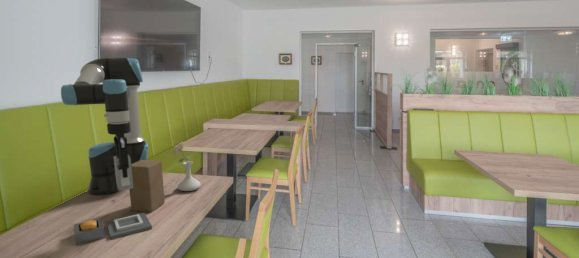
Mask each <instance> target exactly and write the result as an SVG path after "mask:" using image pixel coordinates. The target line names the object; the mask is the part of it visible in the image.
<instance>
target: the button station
mask: <svg viewBox="0 0 579 258" xmlns="http://www.w3.org/2000/svg"><path fill="white" fill-rule="evenodd" d="M102 218H103V217H101V218H95V219H94V220H95V221H96V222H97V228H92V229H88V230H84V231H81V226H80V225H81V223H83V222H84V221H82V222H79V223H74V224H73V232H74V233H73V235H74V239H75V240H74V241H75V246H79V245H82V244H85V243H86V244H87V243H89V242H93V241H97V240H101V239H106V233H105V231H106V230H105V226H104V222H103V219H102Z"/></svg>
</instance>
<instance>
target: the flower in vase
mask: <svg viewBox="0 0 579 258" xmlns="http://www.w3.org/2000/svg"><path fill="white" fill-rule="evenodd" d="M184 146H185V142H183V141H180V142H178V144H177V146H174V150H173V152H172V155H173V156H177V155H179V154H180V153H182V156H183V157H181V158H180V159H179V160H178V163H182V165H183V166H184V168H185V177H184V178H183V180H181V181H180V182H179V183H178V184H177V187H176V188H177V189H178V190H179V191H182V192H183V191H184V192H190V191H194V190H195V191H196V190H199V188H200V187H201V186H202V184H201V182H200V181H199V180H197V179H196V178H194V177H193V176H192V172H191V168H192V165H193V163H194V162H193V161H192V160H191V158H192V156H191V154H190V153H189V154H188V155H187V156H185V154H184V152H183V149H184ZM184 160H185V161H184ZM189 160H191V161H189ZM183 161H184V162H183Z"/></svg>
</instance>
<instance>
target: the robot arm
mask: <svg viewBox="0 0 579 258" xmlns="http://www.w3.org/2000/svg"><path fill="white" fill-rule="evenodd" d="M79 74H80V75H79V76H78V78H77V79H76V81H74V83H73V84H70V83H69V84H64V85H62V86H61V87H60V88H61V89H60V97H61V100H62V101H61V102H62V103H63V104H64V105H65V106H83V105H84V106H85V105H104V108H105V109H104V110H105V113H104V114H103V117H105V118H106V122H107V124H106V127H107V128H106V129H107V134H108V135H113V141H107V142H102V143H97V144H95V145H93V146H91V147H90V148H89V149H88V162H89V170H90V175H91V176H90V181H89V185H88V193H89V194H90V195H93V196H95V195H96V196H101V195H109V194H114V193H117V192H119V191H118V188H117V184H116V175H115V165H114V156H119V161H120V168H118V170H120V175H121V185H122V186H127V185H130V180H129V170H128V168H129V163H128V155H129V156H130V158H131V164H133V163H136V162H138V161H140V160H148V152H149V143H148V142H146V140H145V138H144V137H142V130H141V128H142V127H141V119H140V108H139V97H138V89H139V87H141V83H143V82H144V80H143V74H142V70H141V66H140V62H139V60H138V59H137V58H131V57H101V58H100V57H99V58H96V59H93V60H91V61H89V62H87V63H85V64H84V65H83V66H82V67H81V69H80V73H79Z"/></svg>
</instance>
